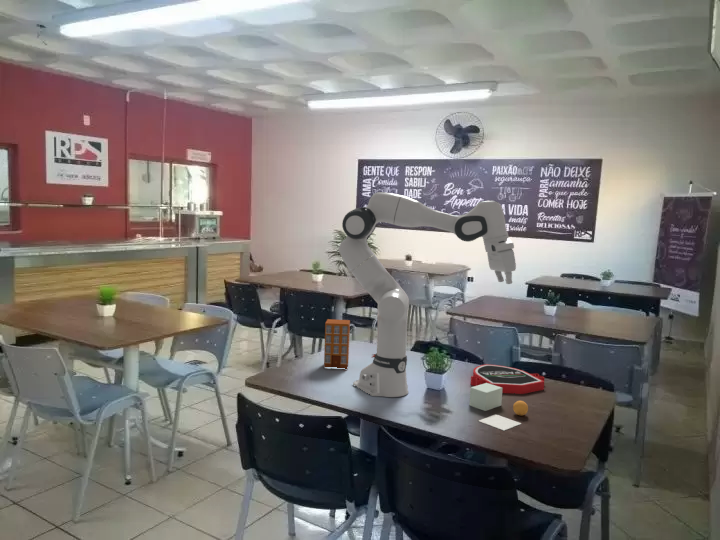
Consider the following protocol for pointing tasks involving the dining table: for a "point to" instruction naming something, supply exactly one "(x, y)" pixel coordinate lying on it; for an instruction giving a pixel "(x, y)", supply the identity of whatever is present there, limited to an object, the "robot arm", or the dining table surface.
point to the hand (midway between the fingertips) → (505, 282)
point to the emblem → (507, 379)
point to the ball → (520, 408)
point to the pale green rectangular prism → (485, 396)
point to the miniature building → (336, 343)
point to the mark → (499, 422)
